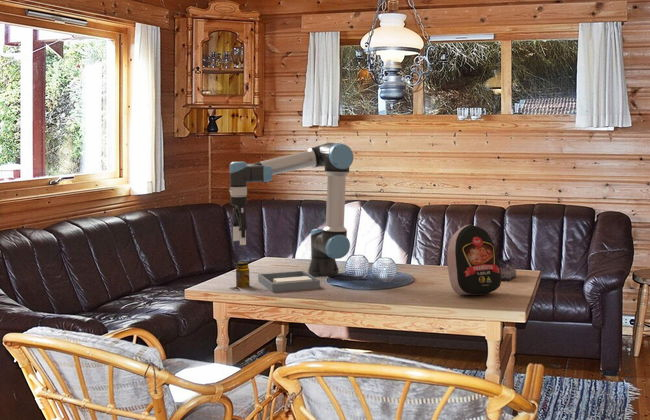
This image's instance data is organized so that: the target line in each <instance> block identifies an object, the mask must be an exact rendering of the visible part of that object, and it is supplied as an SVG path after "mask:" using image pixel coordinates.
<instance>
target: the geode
mask: <svg viewBox="0 0 650 420" xmlns="http://www.w3.org/2000/svg"><path fill="white" fill-rule="evenodd" d="M499 264H500V271H501V281H504V280H505V281H508V280H512V279H514V278H517V270H516V269H517V268H516V259H515V258H514V257H513V258H511V257H509V258H508V259H499Z"/></svg>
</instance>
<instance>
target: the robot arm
mask: <svg viewBox="0 0 650 420" xmlns="http://www.w3.org/2000/svg"><path fill="white" fill-rule="evenodd" d="M353 162H354V152H353V151H352V148H351V147H350V146H348V145H347V144H345V143H341V142H326V143H324V144H320V145H317V146H313V147H310V148H308V149H307V150H305V151H302V152H297V153H292V154H289V155H283V156H279V157H274V158H270V159H266V160H261V161H257V162H253V163H250V162H249V163H247V162H246V161H232V162H230V164H229V187H230V188H229V189H228V192H229V194H230V197H229V199H230V205H231V206H232V216H231V225H232V237H233V238H232V240H233V242H238V241H239V246H246V245H247V229H248V225H247V219H246V218H247V217H246V208H245V207H244V206H245V205H248V197H247V196H248V184H249V183H266V182H271V181H272V180H273V176H275V175H279V174H283V173H288V172H292V171H296V170H301V169H306V168H309V167H311V168H319V167H321V168H322V167H324V173H325V174H326V175H327V183H326V184H327V185H326V212H325V214H326V215H325V226H324V227H323V228H322V227H321V228H313V229H312V230H311V232H310V252H311V253H310V254H311V259H310V263H309V266H308V269H307V273H308V274H310V275H311V276H313V277H315V278H320V277H321V278H322V277H324V278H325V277H328V278H332V277H333V276H334V277H337V275H338V276H339V275H340V269H339V267H338V263H337V261H336V260H337V259H343V258H344V257H346V255H348V253H349V252H350V248H351V243H350V240H349V238H348V237H347V236H348V230H347V228H346V227H345V206H346V181H347V180H346V178H347V175H349V174H350V167H351V166H352V164H353ZM334 277H333V278H334Z"/></svg>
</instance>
